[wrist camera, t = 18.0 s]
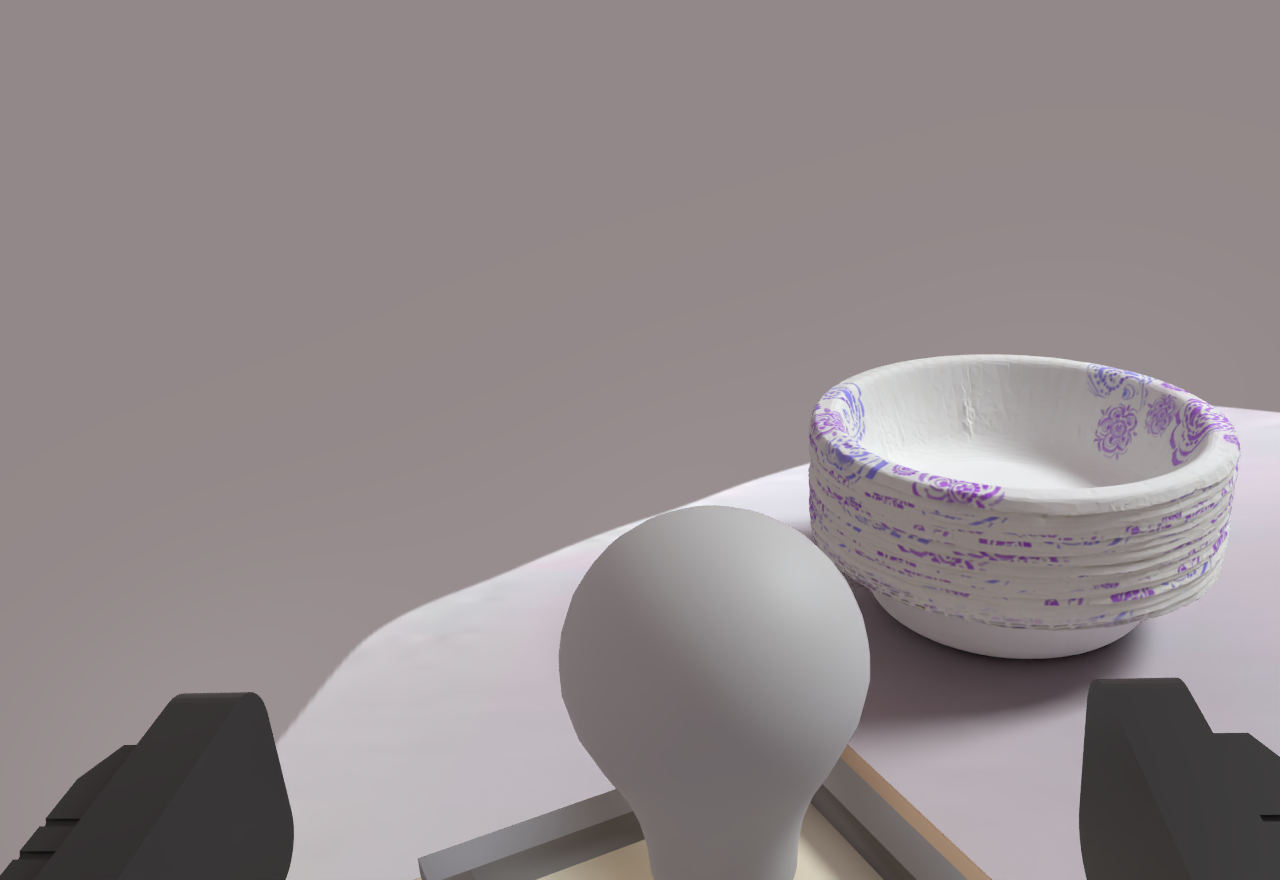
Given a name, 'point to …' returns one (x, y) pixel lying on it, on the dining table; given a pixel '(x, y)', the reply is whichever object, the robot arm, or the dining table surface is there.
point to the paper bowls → (1021, 498)
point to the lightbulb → (715, 685)
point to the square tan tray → (618, 854)
